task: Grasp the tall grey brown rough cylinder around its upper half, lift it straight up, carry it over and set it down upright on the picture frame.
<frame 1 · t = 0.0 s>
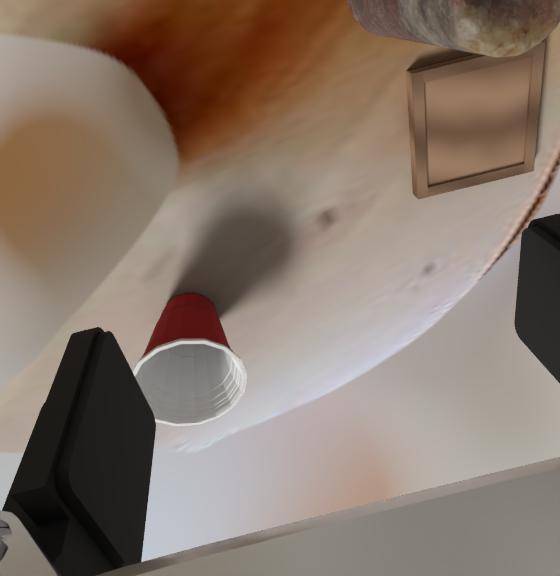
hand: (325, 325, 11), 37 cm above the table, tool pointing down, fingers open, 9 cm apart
picture frame: (470, 122, 47), on the table
plastic cup: (192, 313, 55), on the table
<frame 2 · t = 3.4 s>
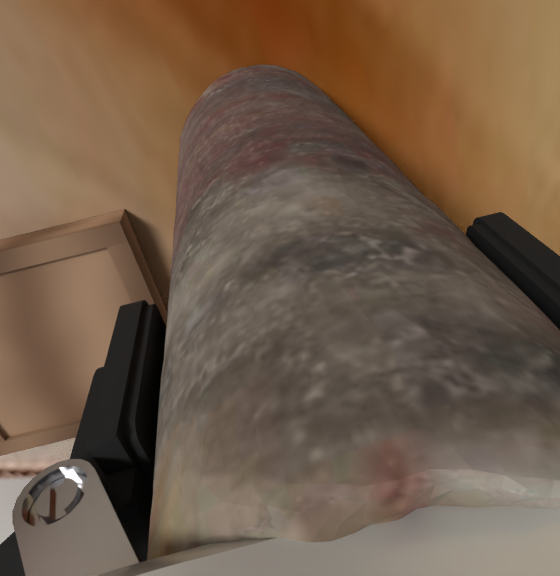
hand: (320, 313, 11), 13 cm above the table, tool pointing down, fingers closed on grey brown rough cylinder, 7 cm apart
grey brown rough cylinder: (264, 152, 22), on the table, touching gripper
picture frame: (57, 337, 26), on the table
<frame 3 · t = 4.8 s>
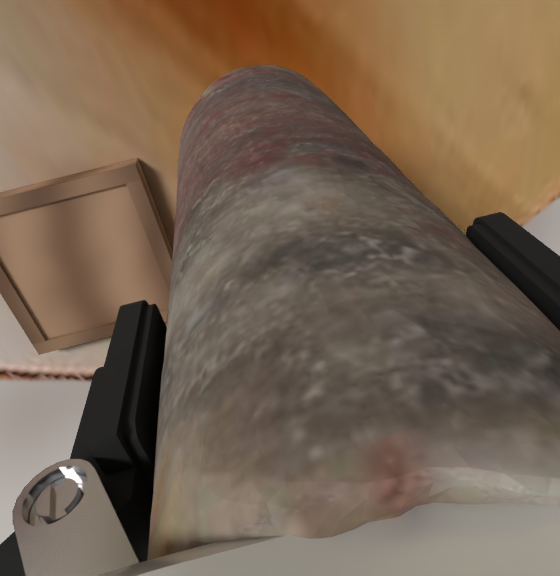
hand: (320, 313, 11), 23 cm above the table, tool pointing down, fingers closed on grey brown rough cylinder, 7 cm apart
grey brown rough cylinder: (264, 152, 22), point 10 cm above the table, touching gripper
picture frame: (86, 258, 35), on the table
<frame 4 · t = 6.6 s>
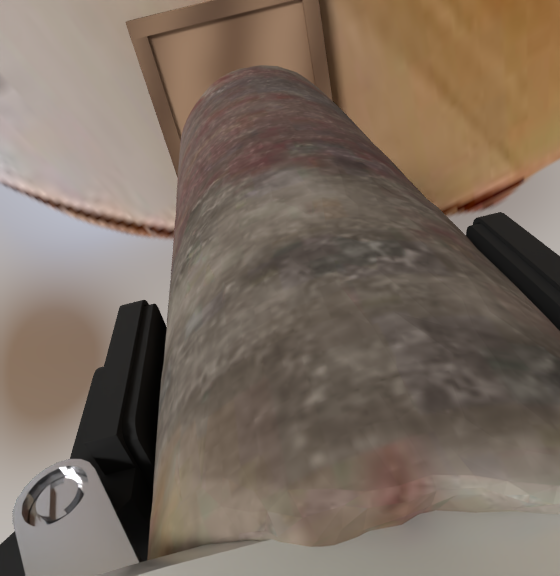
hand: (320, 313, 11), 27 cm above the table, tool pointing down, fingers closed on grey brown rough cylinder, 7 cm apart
grey brown rough cylinder: (264, 152, 22), point 14 cm above the table, touching gripper
picture frame: (242, 95, 34), on the table
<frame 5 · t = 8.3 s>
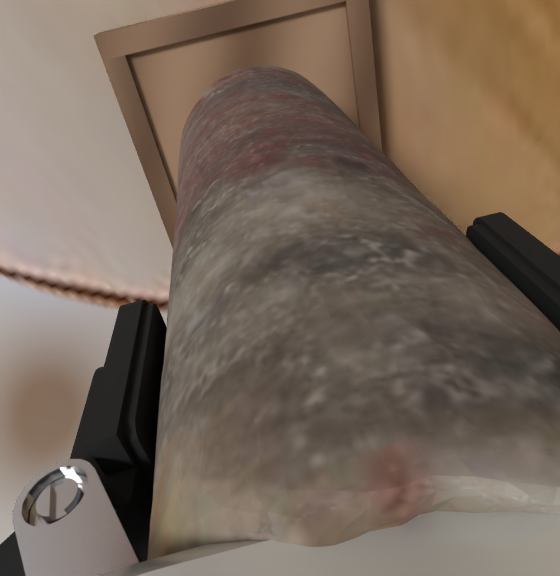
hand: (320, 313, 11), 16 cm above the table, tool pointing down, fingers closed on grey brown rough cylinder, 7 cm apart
grey brown rough cylinder: (264, 152, 22), point 3 cm above the table, touching gripper
picture frame: (258, 132, 25), on the table
when the fingers open (14 cm above the table, at t = 9.8 s): grey brown rough cylinder stays where it is, resting on picture frame.
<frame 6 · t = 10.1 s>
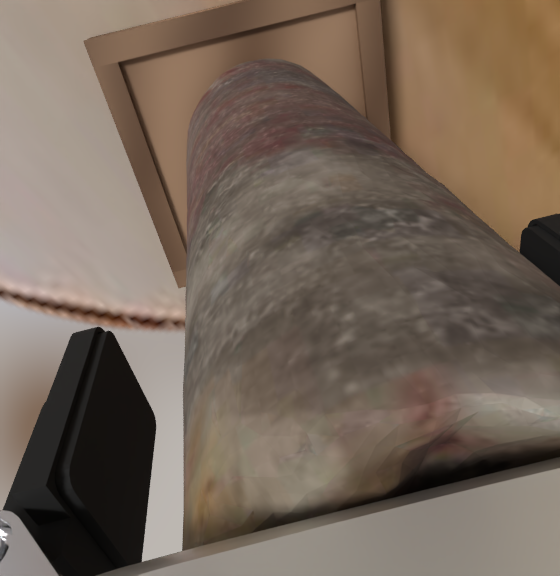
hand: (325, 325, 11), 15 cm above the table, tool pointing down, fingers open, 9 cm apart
grey brown rough cylinder: (268, 145, 23), point 1 cm above the table, touching picture frame
picture frame: (260, 142, 24), on the table
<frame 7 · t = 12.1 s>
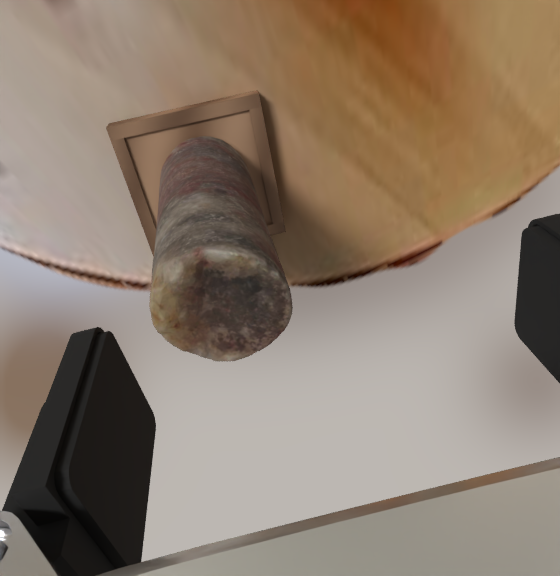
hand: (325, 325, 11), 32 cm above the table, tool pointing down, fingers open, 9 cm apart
grey brown rough cylinder: (206, 180, 41), point 1 cm above the table, touching picture frame
picture frame: (203, 178, 42), on the table
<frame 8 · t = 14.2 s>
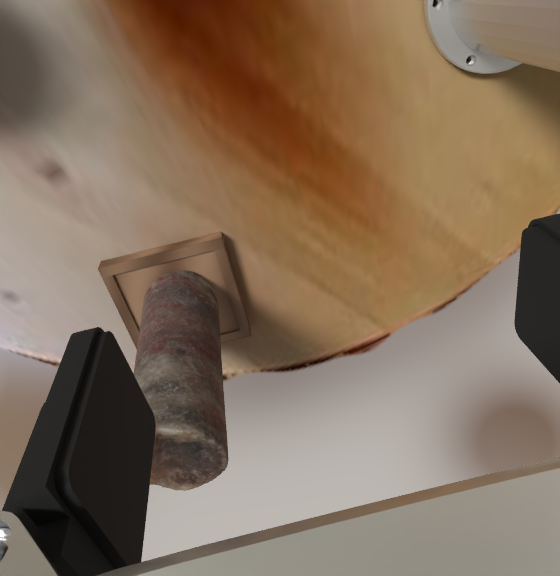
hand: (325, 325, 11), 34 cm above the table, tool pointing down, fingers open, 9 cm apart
grey brown rough cylinder: (182, 300, 49), point 1 cm above the table, touching picture frame
picture frame: (180, 296, 50), on the table
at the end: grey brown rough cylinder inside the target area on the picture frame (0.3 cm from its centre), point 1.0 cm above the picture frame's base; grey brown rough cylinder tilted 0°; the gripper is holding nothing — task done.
